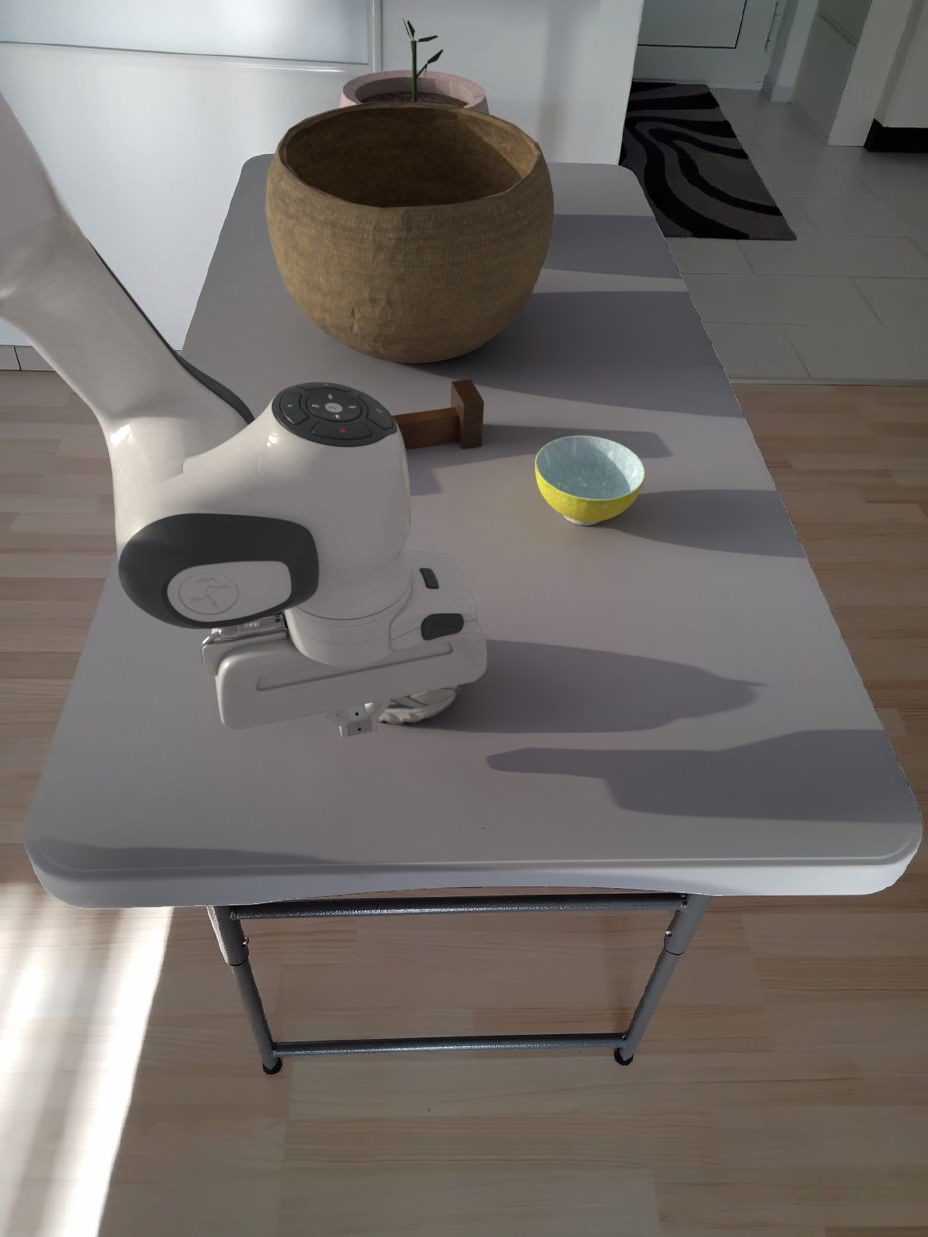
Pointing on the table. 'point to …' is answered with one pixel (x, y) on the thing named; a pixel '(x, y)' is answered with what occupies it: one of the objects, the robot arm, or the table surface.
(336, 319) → the basket
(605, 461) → the bowl
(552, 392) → the table surface
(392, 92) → the plant pot
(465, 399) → the wooden rail
